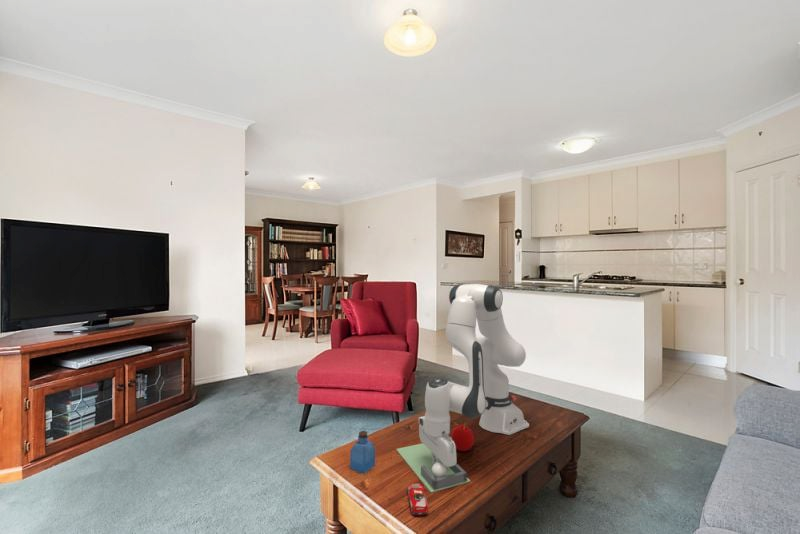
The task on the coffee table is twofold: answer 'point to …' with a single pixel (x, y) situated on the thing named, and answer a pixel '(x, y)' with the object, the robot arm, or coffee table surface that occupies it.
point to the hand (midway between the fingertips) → (436, 465)
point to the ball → (439, 470)
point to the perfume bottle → (362, 454)
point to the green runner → (422, 462)
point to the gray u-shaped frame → (446, 480)
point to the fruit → (462, 437)
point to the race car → (417, 499)
